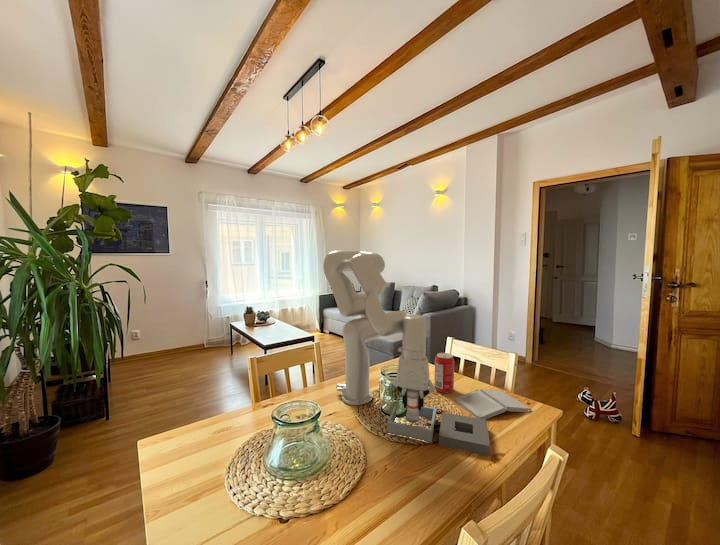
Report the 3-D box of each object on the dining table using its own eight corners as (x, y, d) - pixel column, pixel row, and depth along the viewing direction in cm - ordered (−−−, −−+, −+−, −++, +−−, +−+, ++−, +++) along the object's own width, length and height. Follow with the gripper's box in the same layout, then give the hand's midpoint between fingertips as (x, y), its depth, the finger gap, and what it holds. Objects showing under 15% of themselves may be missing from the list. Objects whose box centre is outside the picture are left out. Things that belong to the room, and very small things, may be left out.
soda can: (433, 392, 123) (434, 357, 122) (434, 384, 130) (435, 351, 129) (453, 395, 120) (454, 359, 119) (453, 387, 128) (454, 353, 127)
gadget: (501, 394, 123) (501, 385, 123) (532, 412, 109) (532, 403, 108) (453, 401, 116) (454, 392, 116) (479, 422, 102) (479, 412, 102)
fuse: (405, 421, 97) (405, 391, 96) (407, 414, 101) (407, 386, 100) (418, 423, 96) (418, 393, 95) (419, 416, 100) (420, 388, 99)
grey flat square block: (438, 445, 89) (438, 435, 89) (442, 420, 102) (442, 412, 102) (489, 456, 84) (489, 446, 84) (486, 428, 97) (486, 419, 97)
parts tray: (386, 434, 94) (387, 422, 94) (396, 412, 107) (396, 401, 107) (431, 443, 90) (432, 431, 89) (436, 419, 103) (436, 408, 103)
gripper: (386, 353, 96) (385, 408, 97) (439, 360, 91) (437, 417, 92) (391, 346, 103) (390, 397, 104) (441, 352, 98) (439, 406, 99)
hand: (412, 406), depth 98 cm, fingers closed on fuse, 4 cm apart
